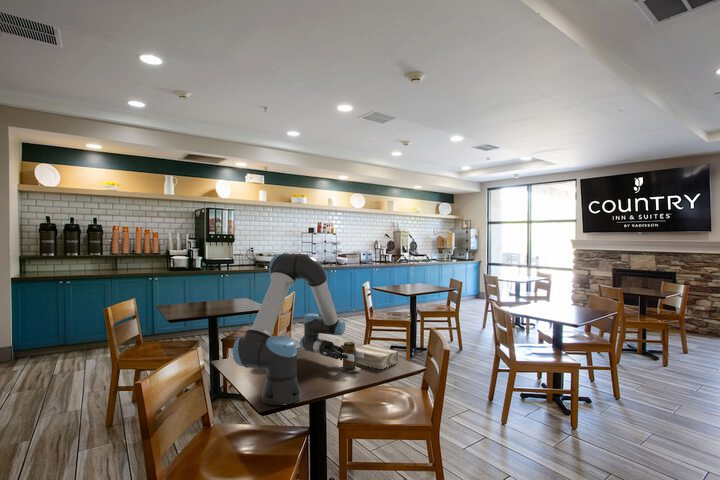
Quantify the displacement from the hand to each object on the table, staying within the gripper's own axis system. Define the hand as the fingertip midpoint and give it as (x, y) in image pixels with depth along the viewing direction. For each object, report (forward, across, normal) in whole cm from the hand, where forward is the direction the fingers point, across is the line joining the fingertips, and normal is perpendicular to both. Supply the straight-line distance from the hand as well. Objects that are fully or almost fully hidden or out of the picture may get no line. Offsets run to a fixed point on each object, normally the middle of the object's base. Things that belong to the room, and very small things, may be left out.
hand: (358, 356), depth 179 cm
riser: (-5, -18, -8) cm, 20 cm away
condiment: (-5, 0, -7) cm, 8 cm away
